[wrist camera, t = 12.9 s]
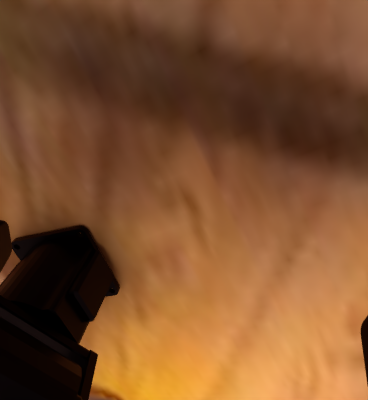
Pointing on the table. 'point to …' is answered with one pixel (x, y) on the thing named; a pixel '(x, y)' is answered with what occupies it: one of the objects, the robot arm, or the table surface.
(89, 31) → the table surface
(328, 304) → the table surface
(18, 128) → the table surface
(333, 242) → the table surface
